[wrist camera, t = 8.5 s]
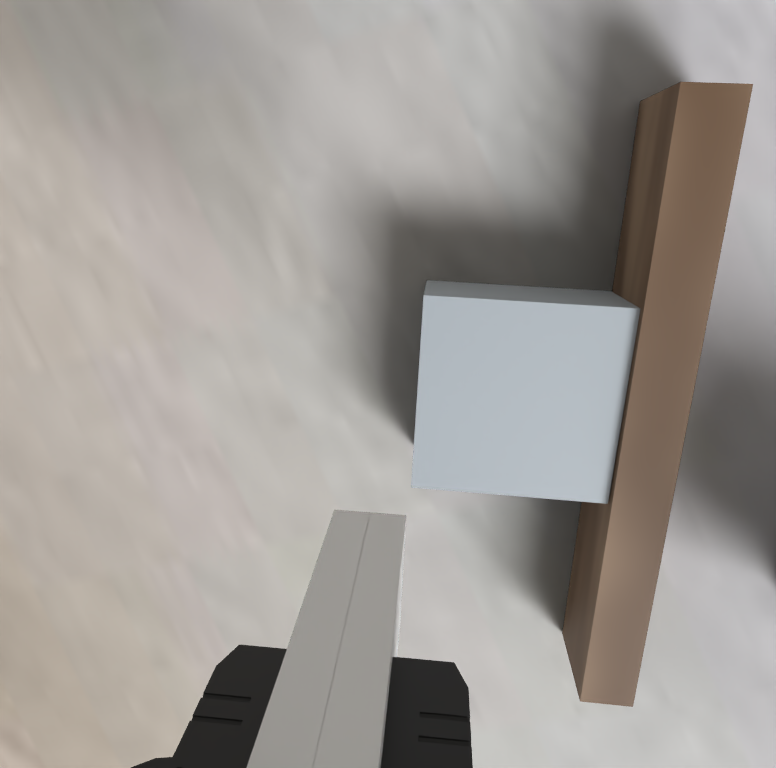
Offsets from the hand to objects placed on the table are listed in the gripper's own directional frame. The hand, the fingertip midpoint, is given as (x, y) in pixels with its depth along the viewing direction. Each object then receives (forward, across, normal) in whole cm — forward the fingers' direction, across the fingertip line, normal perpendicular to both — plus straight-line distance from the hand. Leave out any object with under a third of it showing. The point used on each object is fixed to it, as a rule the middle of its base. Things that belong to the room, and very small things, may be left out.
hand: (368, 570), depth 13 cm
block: (+13, +4, +1) cm, 14 cm away
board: (+13, +9, 0) cm, 16 cm away
